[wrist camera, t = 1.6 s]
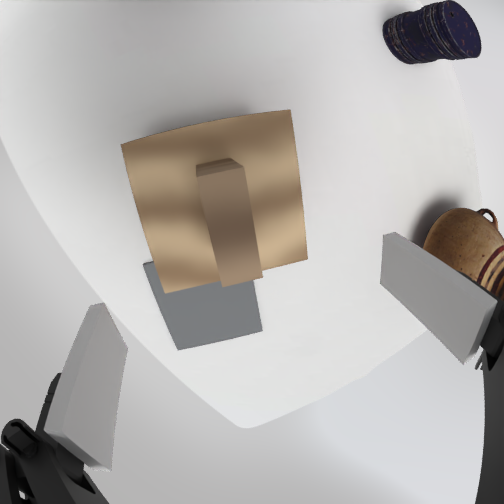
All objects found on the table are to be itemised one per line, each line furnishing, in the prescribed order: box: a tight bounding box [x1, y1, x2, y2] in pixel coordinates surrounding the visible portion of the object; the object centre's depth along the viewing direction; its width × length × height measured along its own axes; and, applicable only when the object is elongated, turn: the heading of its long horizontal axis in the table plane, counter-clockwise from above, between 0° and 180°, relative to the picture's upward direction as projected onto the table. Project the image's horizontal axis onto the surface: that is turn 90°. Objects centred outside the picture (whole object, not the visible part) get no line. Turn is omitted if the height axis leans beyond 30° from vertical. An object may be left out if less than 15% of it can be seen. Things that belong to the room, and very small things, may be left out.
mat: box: [143, 261, 263, 350], centre depth 45 cm, size 18×16×1 cm
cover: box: [121, 110, 308, 293], centre depth 28 cm, size 15×15×22 cm
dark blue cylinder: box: [383, 0, 481, 64], centre depth 26 cm, size 10×10×15 cm
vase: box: [423, 208, 504, 302], centre depth 37 cm, size 21×18×30 cm
